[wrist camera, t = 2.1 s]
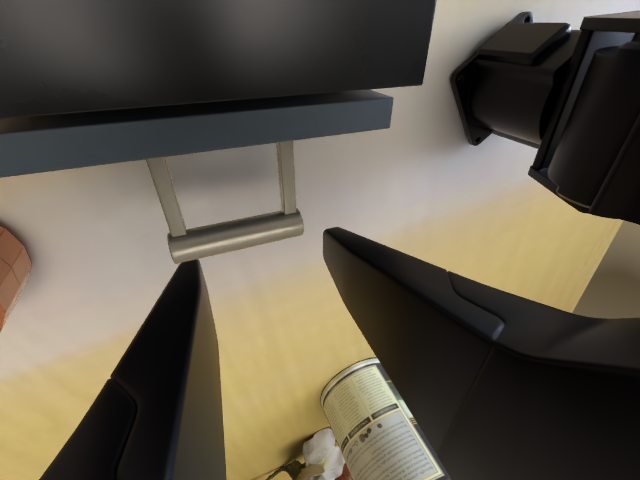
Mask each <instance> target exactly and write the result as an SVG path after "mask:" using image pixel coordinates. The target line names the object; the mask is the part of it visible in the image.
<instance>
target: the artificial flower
mask: <svg viewBox="0 0 640 480" xmlns="http://www.w3.org/2000/svg"><path fill="white" fill-rule="evenodd" d="M334 444H335V436H334V434H333V431H332V430H331V429H330V428H325V429H322V430H320V431H318V432H317V433H316V434H315V435H314V437H313V438H312V439H310V440H309V441H306V442H305V443H304V444H303V455H304V460H305V463H303V464H301V463H300V462H299V461H297V460H295V461H293V462H292V463H290V464H288V465H286V466H282V467H280V468H279V469H278V470H276V471H275V472H274V473H273V474H272V475H270V476H269V477H268V478H267V479H266V480H270V479H272V478H273V477H274V476H275V475H277V474H278V473H279V472H281V471H286V472H287V473H288V474H289V475H290V477H291V478H292V479H293V480H335V478H337V477H339V476H340V475H341V474H342V470H343V466H344V463H345V460H344V457H343V455H342V453H341V450H340V448H339V447H335V446H334Z"/></svg>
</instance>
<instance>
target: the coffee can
mask: <svg viewBox="0 0 640 480" xmlns="http://www.w3.org/2000/svg"><path fill="white" fill-rule="evenodd" d="M320 403H321V406H322V408H323V409H324V412H325V414H326V417H327V419H328V421H329V424H330V426H331V429H332V431H333V434H334V436H335V438H336V441H337V443H338V445H339V448H340V450H341V453H342V455H343V457H344V460H345V462H346V464H347V467H348V469H349V472H350V474H351V477H352V479H353V480H451V478H450V477H449V475H448V473H447V472H446V470H445V469H444V467H443V465H442V464H441V462H440V460H439V459H438V457H437V455H438V454H436V453H435V452H434V450H433V448H432V447H431V445H430V444H429V442H428V440H427V439H426V437H425V435H424V434H423V432H422V430H421V429H420V427H419V426H418V424H417V422H416V421H415V419H414V417H413V416H412V414H411V412H410V411H409V409H408V408H407V406H406V404H405V403H404V401H403V399H402V398H401V396H400V394H399V393H398V391H397V390H396V388H395V386H394V385H393V383H392V381H391V380H390V378H389V376H388V375H387V373H386V371H385V370H384V368H383V367H382V365H381V363H380V362H379V360H378V358H372V359H367V360H364V361H361V362H358V363H356V364H354V365H352V366H350V367H348V368H346V369H345V370H343V371H342V372H340V373H339V374H338V375H337V376H336V377H334V378H333V379H332V380H331V381H330V382H329V384H328V385H327V386H326V388H325V389H324V391H323V393H322V395H321V400H320Z"/></svg>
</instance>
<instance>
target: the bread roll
mask: <svg viewBox="0 0 640 480" xmlns="http://www.w3.org/2000/svg"><path fill="white" fill-rule="evenodd" d="M335 480H353V479H352V477H351V474H350V472H349V469H348V467H347V464H344V466H343V470H342V474H341V475H340V476H339V477H337V478H335Z"/></svg>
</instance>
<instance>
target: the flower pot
mask: <svg viewBox="0 0 640 480" xmlns="http://www.w3.org/2000/svg"><path fill="white" fill-rule="evenodd" d="M30 269H31V262H30V259H29V257H28V254H27V252H26V249H25V247H24V245H23V244H22V243H20V242H19V241H18V240H17V239H16V238H15V237H14V236H13V235H12V234H11V233H10V232H9V231H8V230H6V229H5V228H3V227H1V226H0V332H1V330H2V329H3V327H4V325H5V323H6V321H7V319H8V317H9V315H10V313H11V311H12V310H13V308H14V306H15V304H16V302H17V300H18V298H19V296H20V294H21V292H22V290H23V288H24V286H25V284H26V282H27V281H28V277H29V273H30Z"/></svg>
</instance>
